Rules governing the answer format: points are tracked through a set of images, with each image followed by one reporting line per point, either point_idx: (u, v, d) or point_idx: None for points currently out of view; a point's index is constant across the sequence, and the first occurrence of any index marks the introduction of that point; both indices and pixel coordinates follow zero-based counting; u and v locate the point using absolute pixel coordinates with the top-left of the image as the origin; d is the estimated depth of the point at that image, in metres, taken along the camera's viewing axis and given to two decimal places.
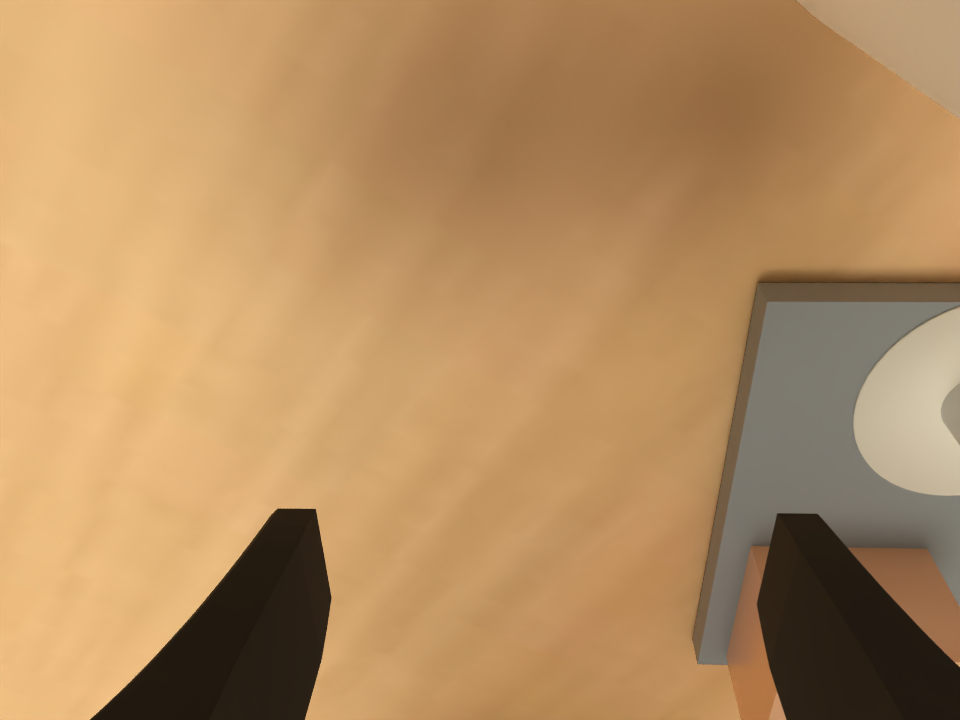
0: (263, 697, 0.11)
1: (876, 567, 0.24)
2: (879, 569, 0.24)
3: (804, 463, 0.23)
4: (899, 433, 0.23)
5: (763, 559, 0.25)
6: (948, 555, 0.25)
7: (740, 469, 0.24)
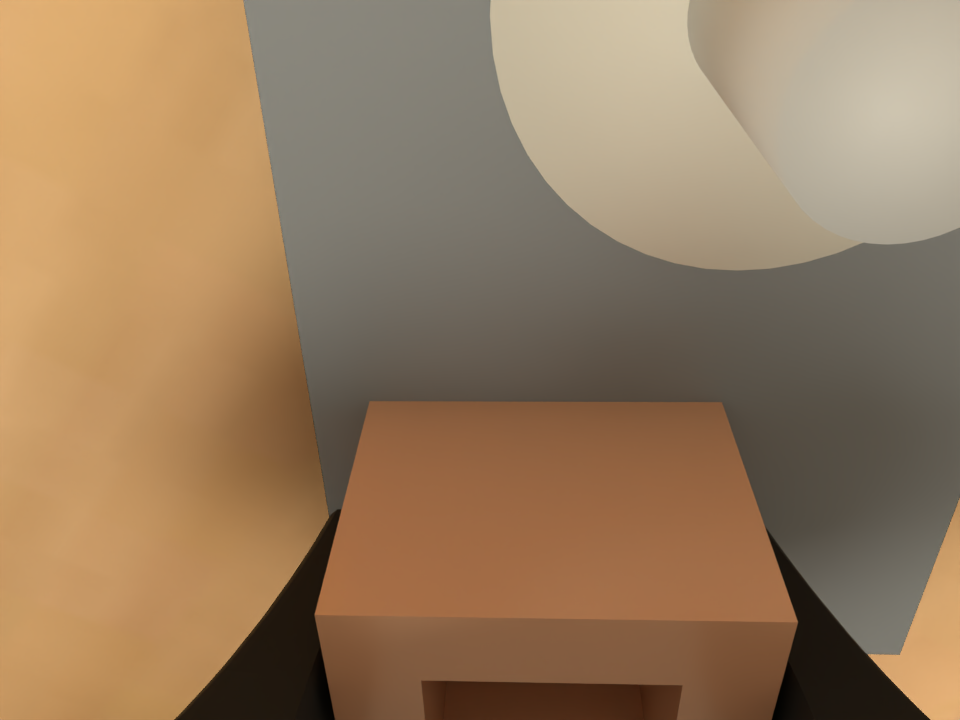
0: None
1: (605, 434, 0.12)
2: (610, 437, 0.12)
3: (421, 194, 0.11)
4: (604, 103, 0.10)
5: (381, 422, 0.12)
6: (767, 417, 0.12)
7: (290, 213, 0.11)
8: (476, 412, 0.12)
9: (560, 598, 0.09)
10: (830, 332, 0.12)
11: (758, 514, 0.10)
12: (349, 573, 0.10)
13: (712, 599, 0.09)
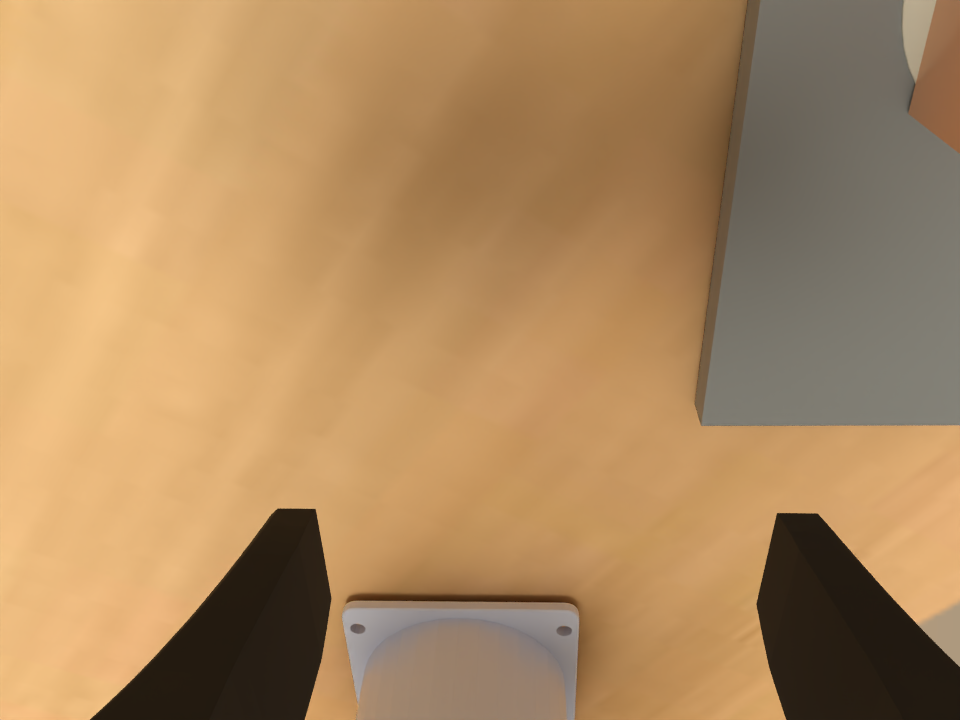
0: (263, 697, 0.11)
1: None
2: None
3: (836, 94, 0.18)
4: None
5: None
6: None
7: (752, 108, 0.18)
8: None
9: None
10: None
11: None
12: None
13: None
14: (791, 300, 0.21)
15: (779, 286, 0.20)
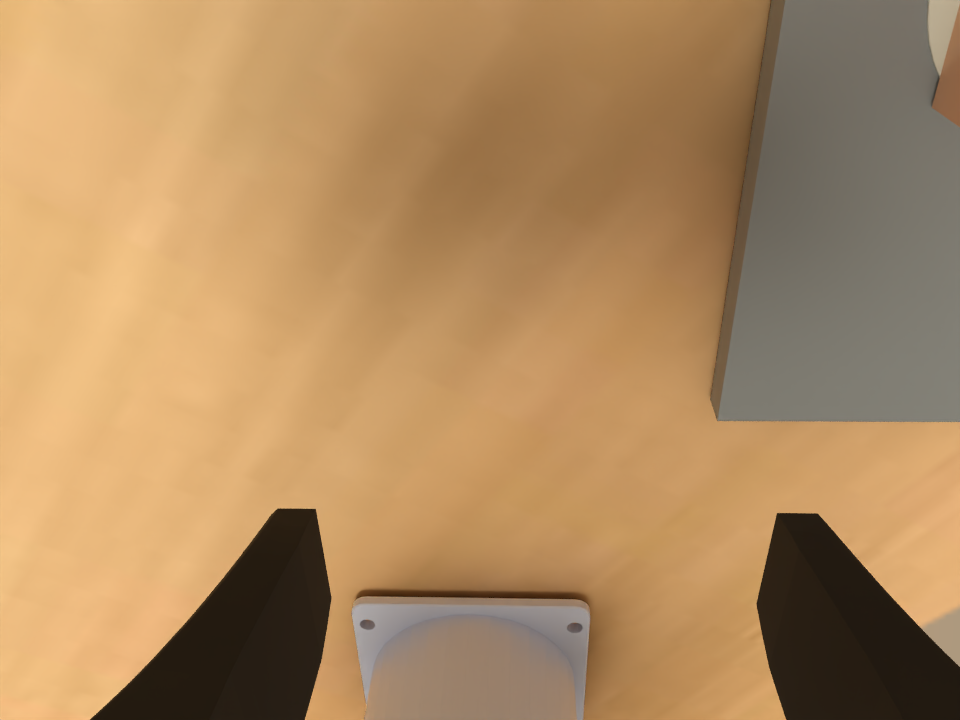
0: (263, 697, 0.11)
1: None
2: None
3: (860, 88, 0.18)
4: None
5: None
6: None
7: (775, 101, 0.18)
8: None
9: None
10: None
11: None
12: None
13: None
14: (810, 294, 0.21)
15: (799, 280, 0.20)
